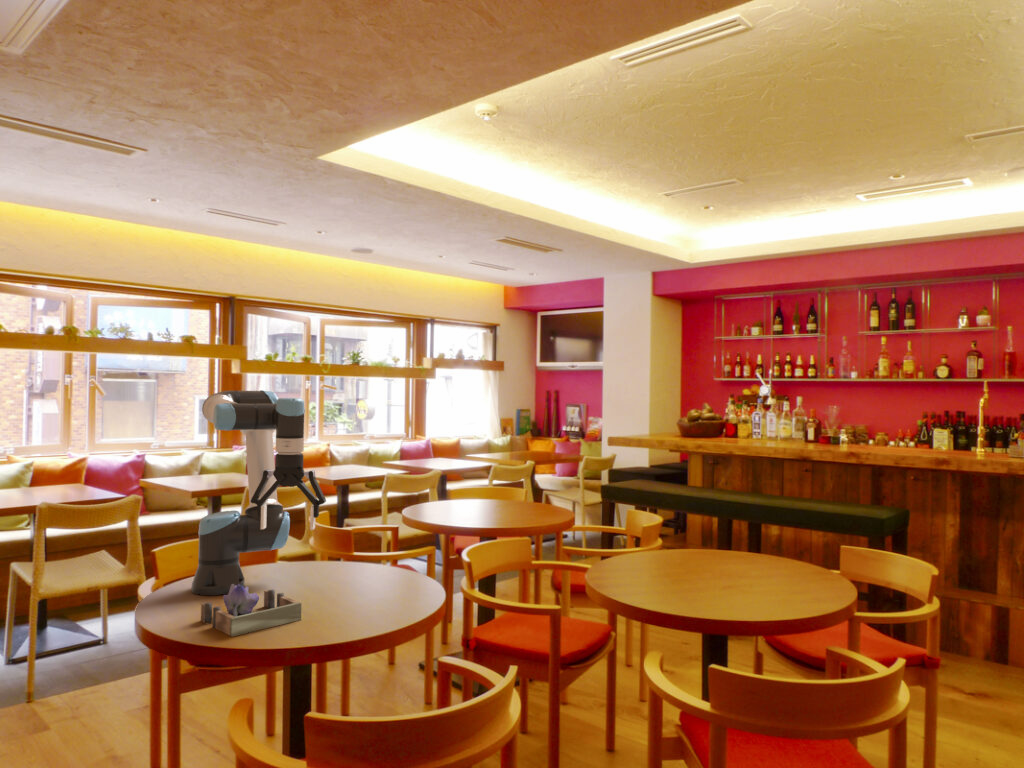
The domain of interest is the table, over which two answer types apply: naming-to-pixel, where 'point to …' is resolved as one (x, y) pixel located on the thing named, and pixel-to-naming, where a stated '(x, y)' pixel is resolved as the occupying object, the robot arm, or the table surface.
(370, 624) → the table surface
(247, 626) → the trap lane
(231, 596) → the flower
